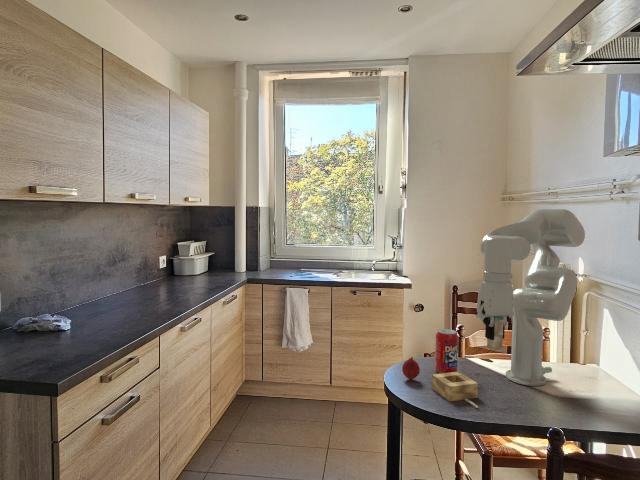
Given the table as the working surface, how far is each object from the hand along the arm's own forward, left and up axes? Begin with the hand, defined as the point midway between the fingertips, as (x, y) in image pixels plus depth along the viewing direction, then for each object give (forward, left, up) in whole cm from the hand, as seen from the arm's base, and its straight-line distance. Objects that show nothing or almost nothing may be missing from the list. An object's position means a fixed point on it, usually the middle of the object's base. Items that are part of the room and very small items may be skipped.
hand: (494, 337), depth 126 cm
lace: (+8, +1, -19) cm, 21 cm away
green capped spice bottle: (0, 0, -3) cm, 3 cm away
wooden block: (+8, -8, -19) cm, 22 cm away
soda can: (0, -24, -19) cm, 30 cm away
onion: (+16, -21, -19) cm, 33 cm away
